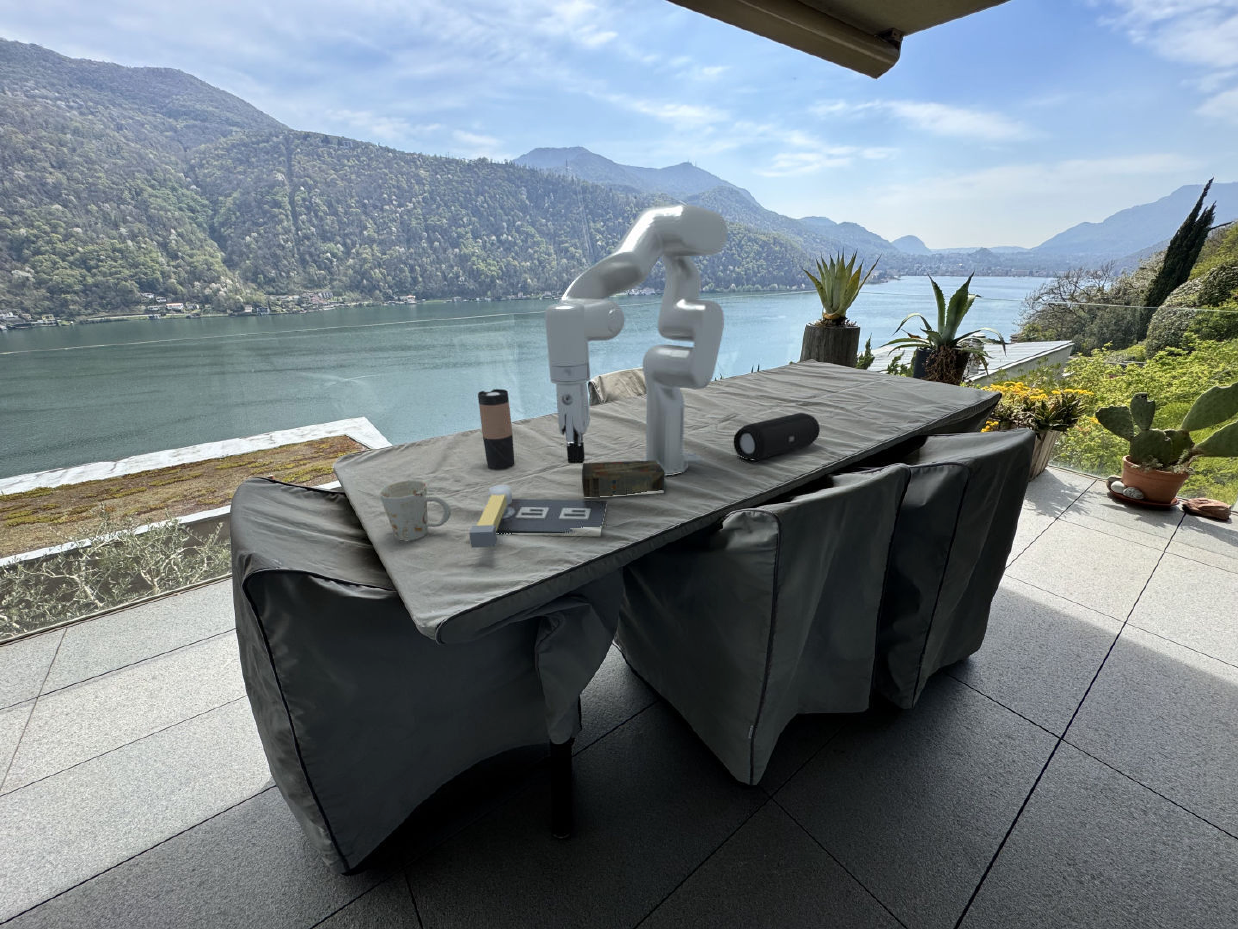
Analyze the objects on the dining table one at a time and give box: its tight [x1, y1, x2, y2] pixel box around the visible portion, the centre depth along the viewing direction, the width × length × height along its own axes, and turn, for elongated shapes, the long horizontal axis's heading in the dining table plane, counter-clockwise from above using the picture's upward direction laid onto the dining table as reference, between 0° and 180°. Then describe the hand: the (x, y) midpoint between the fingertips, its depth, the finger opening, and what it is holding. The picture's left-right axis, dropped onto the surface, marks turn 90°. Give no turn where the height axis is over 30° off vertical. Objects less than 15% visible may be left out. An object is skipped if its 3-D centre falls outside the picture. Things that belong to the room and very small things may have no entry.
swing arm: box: [468, 484, 513, 549], centre depth 92 cm, size 20×4×3 cm, turn 3°
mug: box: [378, 479, 452, 541], centre depth 94 cm, size 8×13×10 cm, turn 95°
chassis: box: [496, 498, 608, 534], centre depth 100 cm, size 24×14×4 cm, turn 86°
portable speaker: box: [733, 412, 821, 461], centre depth 134 cm, size 26×10×10 cm, turn 121°
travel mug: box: [477, 388, 515, 471], centre depth 126 cm, size 8×8×20 cm
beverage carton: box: [581, 460, 666, 498], centre depth 112 cm, size 8×19×7 cm, turn 96°
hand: (576, 461), depth 97 cm, fingers closed
